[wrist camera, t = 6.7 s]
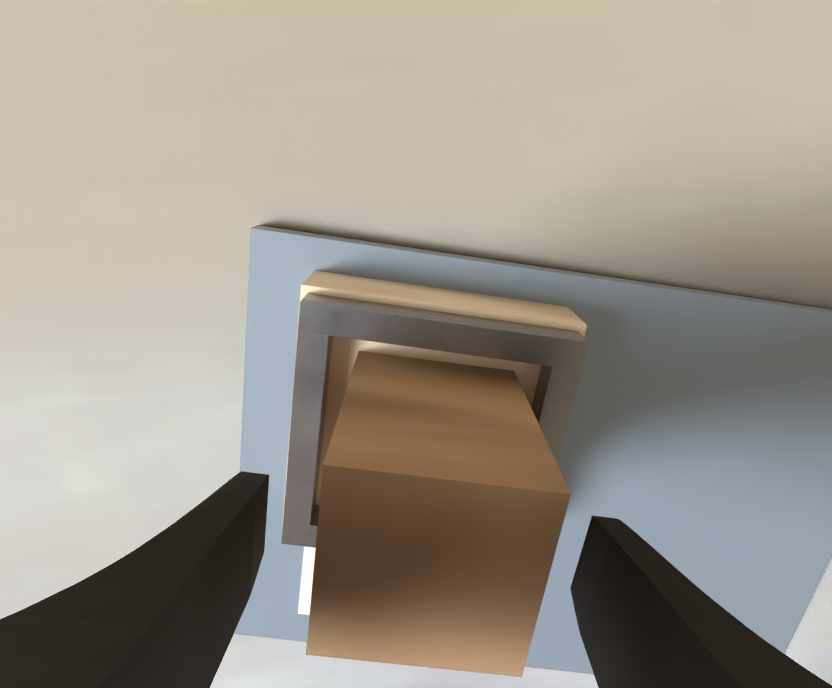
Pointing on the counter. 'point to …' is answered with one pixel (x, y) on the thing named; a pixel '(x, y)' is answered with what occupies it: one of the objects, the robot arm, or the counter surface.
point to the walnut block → (434, 519)
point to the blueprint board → (558, 415)
